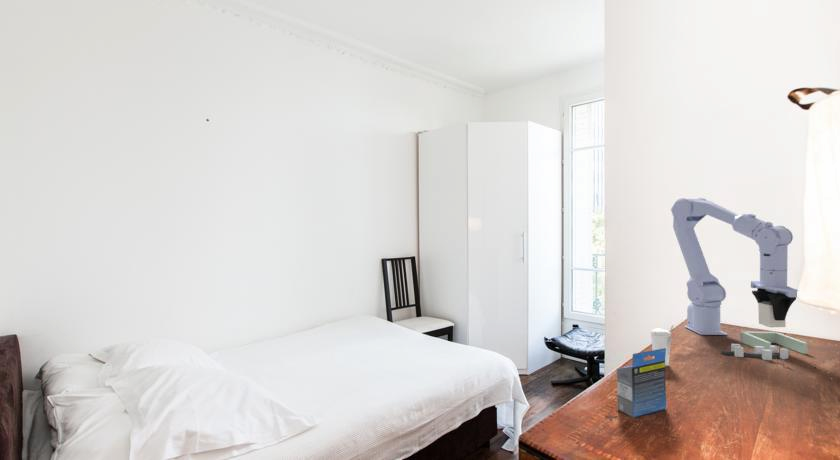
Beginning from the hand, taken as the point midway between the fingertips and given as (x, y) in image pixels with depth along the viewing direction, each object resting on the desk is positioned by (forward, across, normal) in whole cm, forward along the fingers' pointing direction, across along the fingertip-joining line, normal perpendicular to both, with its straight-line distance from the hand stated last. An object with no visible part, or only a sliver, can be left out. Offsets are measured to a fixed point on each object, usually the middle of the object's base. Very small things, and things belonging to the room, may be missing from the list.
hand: (773, 318), depth 110 cm
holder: (+9, -1, +1) cm, 9 cm away
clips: (+9, +5, -8) cm, 13 cm away
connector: (+2, 0, 0) cm, 2 cm away
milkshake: (+9, +14, -35) cm, 39 cm away
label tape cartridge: (+9, +39, -51) cm, 65 cm away
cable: (+9, +5, -8) cm, 13 cm away
